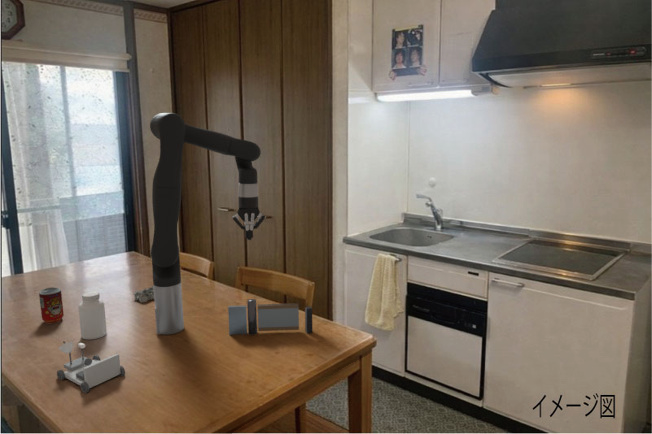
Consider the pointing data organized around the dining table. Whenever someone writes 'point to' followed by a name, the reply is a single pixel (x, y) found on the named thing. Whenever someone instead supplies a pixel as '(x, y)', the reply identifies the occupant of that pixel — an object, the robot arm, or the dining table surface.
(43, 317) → the soda can
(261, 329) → the gate
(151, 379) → the dining table surface
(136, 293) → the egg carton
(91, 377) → the toy space rover
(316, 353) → the dining table surface
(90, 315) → the pill bottle
